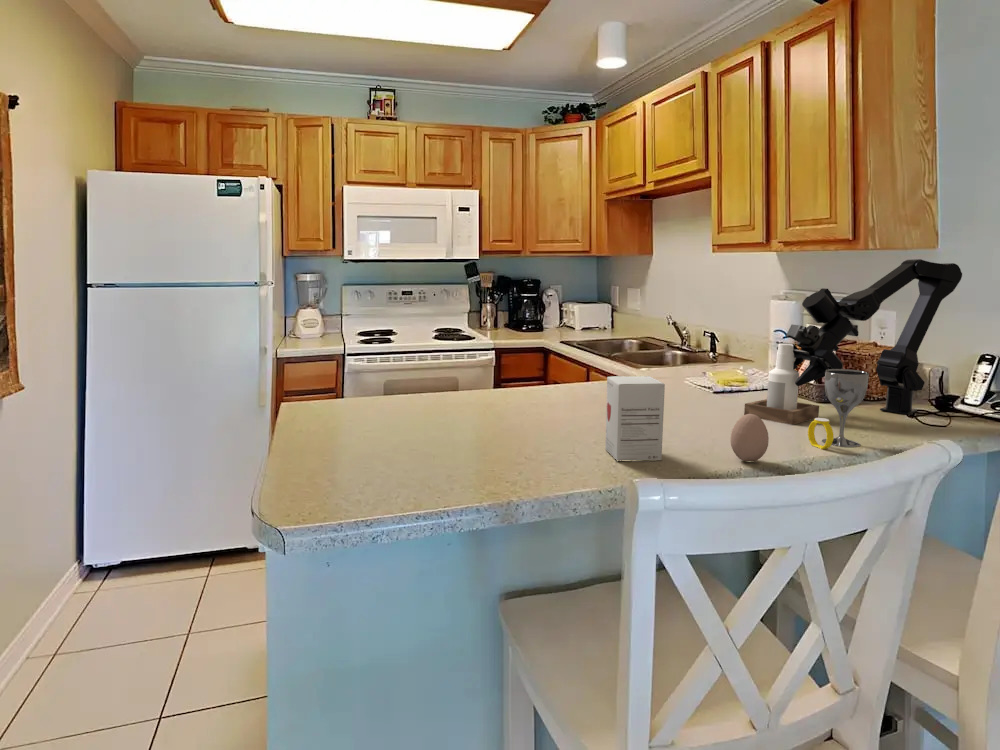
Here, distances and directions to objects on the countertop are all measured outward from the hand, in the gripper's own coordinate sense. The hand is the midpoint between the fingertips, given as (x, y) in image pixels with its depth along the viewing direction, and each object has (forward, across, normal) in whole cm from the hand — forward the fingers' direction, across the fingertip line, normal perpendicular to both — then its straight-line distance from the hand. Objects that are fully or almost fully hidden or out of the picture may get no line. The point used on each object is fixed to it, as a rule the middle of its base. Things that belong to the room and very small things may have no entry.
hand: (784, 381), depth 158 cm
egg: (+28, +34, -15) cm, 46 cm away
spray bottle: (+6, 0, +6) cm, 9 cm away
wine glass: (+9, +25, +4) cm, 27 cm away
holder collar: (+6, 0, +6) cm, 9 cm away
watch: (+13, +27, -1) cm, 30 cm away
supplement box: (+42, +26, -29) cm, 57 cm away
